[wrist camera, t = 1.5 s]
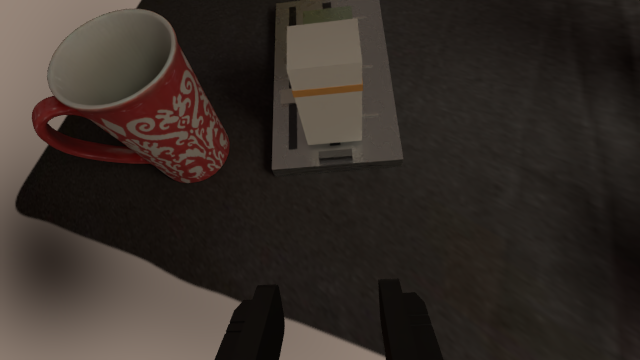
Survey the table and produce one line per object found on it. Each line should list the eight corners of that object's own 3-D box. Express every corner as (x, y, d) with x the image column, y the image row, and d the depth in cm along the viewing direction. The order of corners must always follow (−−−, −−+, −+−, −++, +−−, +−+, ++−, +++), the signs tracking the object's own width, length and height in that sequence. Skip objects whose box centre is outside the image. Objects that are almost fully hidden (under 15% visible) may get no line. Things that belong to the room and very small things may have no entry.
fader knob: (359, 104, 33) (358, 17, 24) (362, 140, 31) (363, 62, 22) (306, 109, 34) (286, 25, 24) (307, 145, 32) (285, 70, 23)
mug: (225, 101, 38) (159, -10, 25) (251, 168, 34) (188, 75, 22) (115, 147, 37) (-8, 54, 25) (129, 221, 33) (-8, 155, 21)
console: (377, 2, 41) (378, -17, 39) (401, 166, 32) (404, 153, 30) (278, 14, 42) (274, -4, 40) (275, 176, 33) (269, 165, 31)
